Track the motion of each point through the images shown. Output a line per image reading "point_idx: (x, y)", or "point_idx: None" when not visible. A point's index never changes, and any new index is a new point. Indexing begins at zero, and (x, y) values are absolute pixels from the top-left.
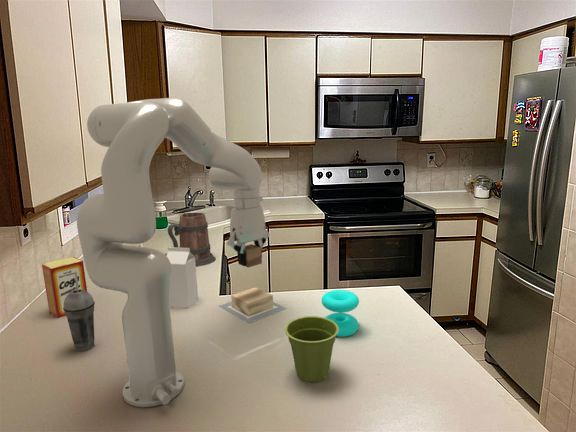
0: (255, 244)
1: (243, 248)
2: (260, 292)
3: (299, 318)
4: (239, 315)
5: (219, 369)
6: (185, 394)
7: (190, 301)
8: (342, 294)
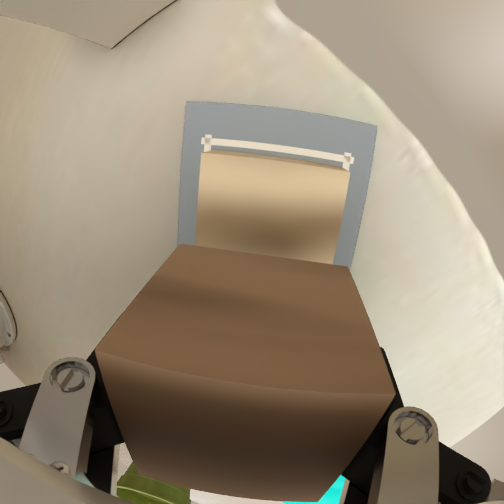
0: (377, 453)
1: (103, 471)
2: (315, 242)
3: (152, 496)
4: (188, 230)
5: (60, 350)
6: (18, 347)
7: (110, 32)
8: (339, 490)
